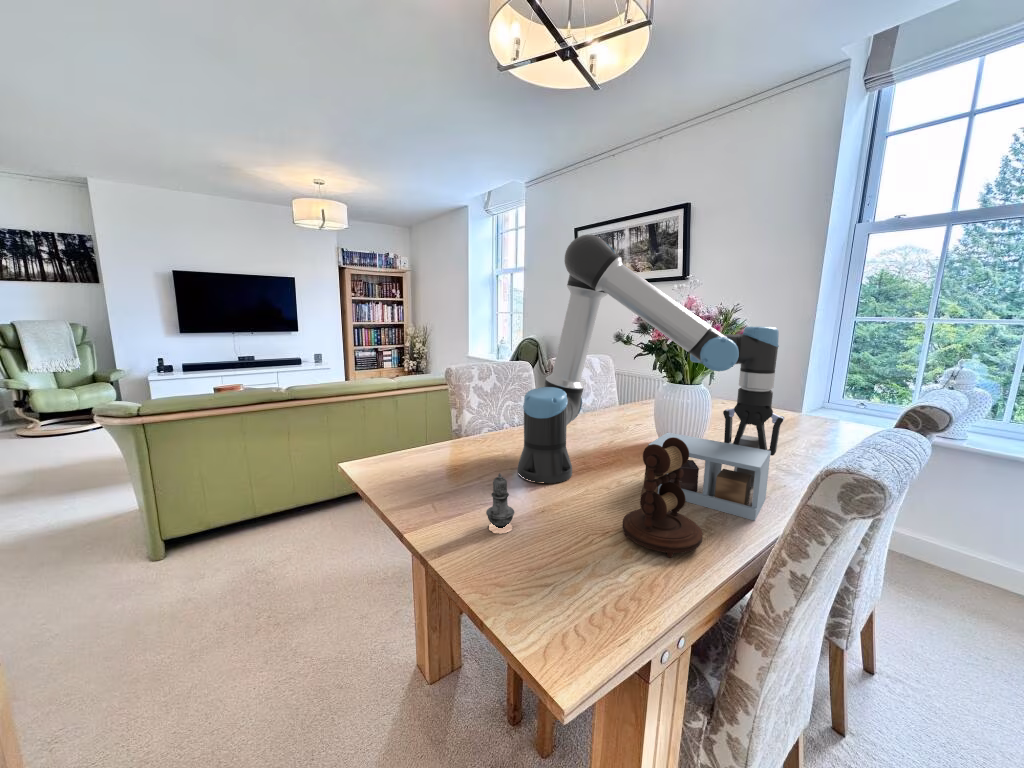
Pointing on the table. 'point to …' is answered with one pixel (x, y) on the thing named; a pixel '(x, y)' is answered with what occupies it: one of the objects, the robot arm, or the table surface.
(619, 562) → the table surface
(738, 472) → the walnut block
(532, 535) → the table surface
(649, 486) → the thread spool stand
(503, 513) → the salt shaker
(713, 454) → the shelf
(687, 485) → the box
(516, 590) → the table surface
